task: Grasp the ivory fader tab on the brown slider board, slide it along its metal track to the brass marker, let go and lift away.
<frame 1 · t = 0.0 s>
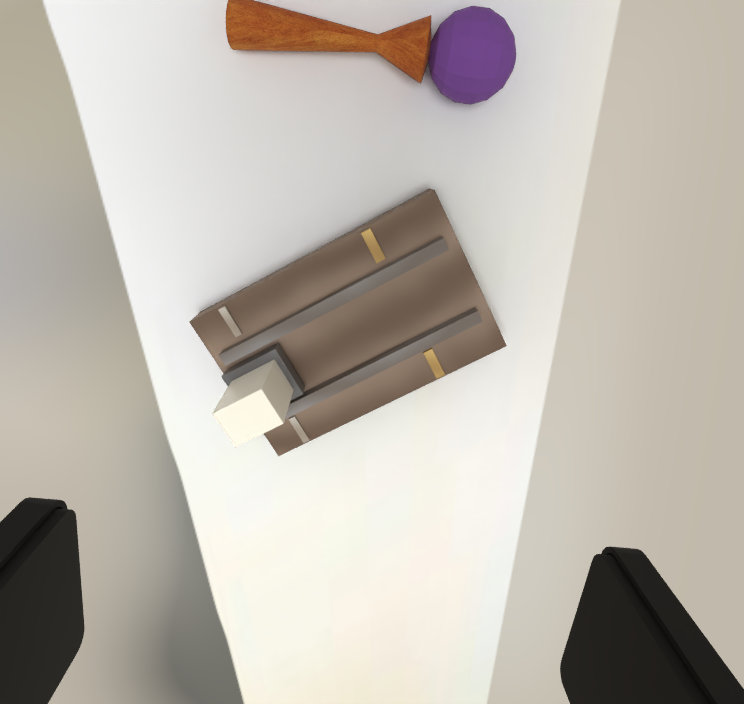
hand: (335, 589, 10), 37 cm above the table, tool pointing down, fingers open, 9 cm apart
kendama: (371, 50, 40), on the table
fader tab: (257, 396, 41), point 7 cm above the table, slide at 0.0 cm
brown slider board: (350, 323, 47), on the table
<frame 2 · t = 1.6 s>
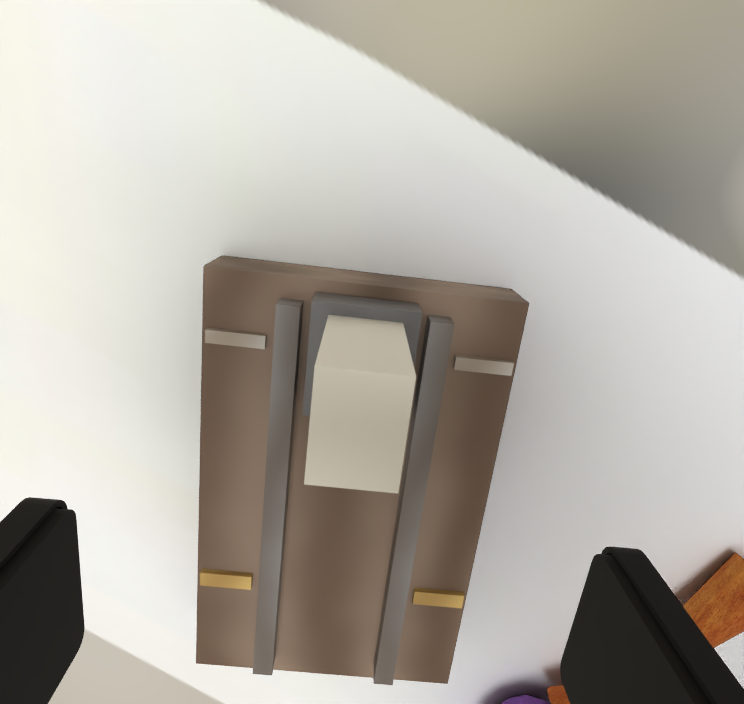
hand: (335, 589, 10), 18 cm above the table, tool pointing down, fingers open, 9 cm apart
kendama: (603, 647, 34), on the table
fader tab: (359, 385, 20), point 7 cm above the table, slide at 0.0 cm
brown slider board: (345, 472, 29), on the table
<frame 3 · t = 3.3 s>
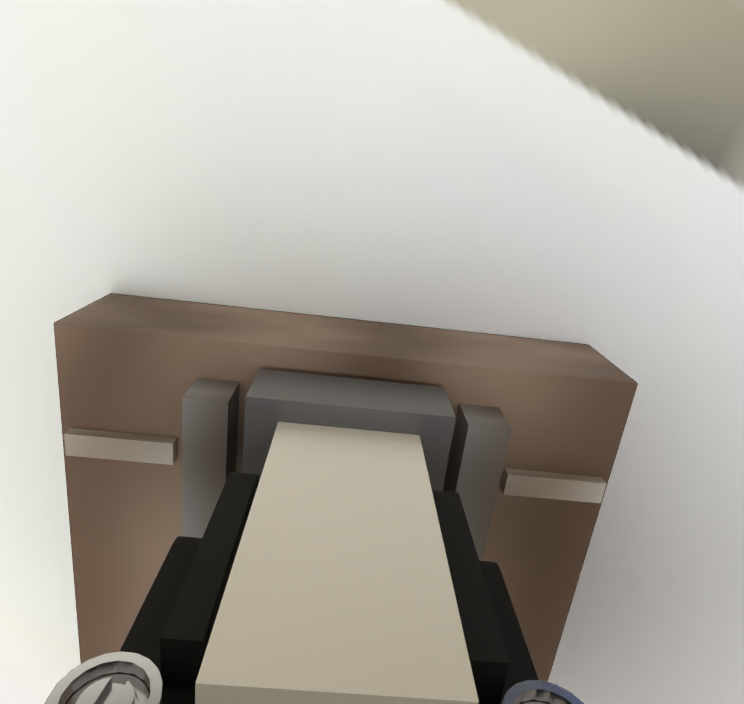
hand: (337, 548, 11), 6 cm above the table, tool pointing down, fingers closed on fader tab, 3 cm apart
fader tab: (336, 580, 10), point 7 cm above the table, slide at 0.0 cm, touching gripper
brown slider board: (323, 613, 19), on the table
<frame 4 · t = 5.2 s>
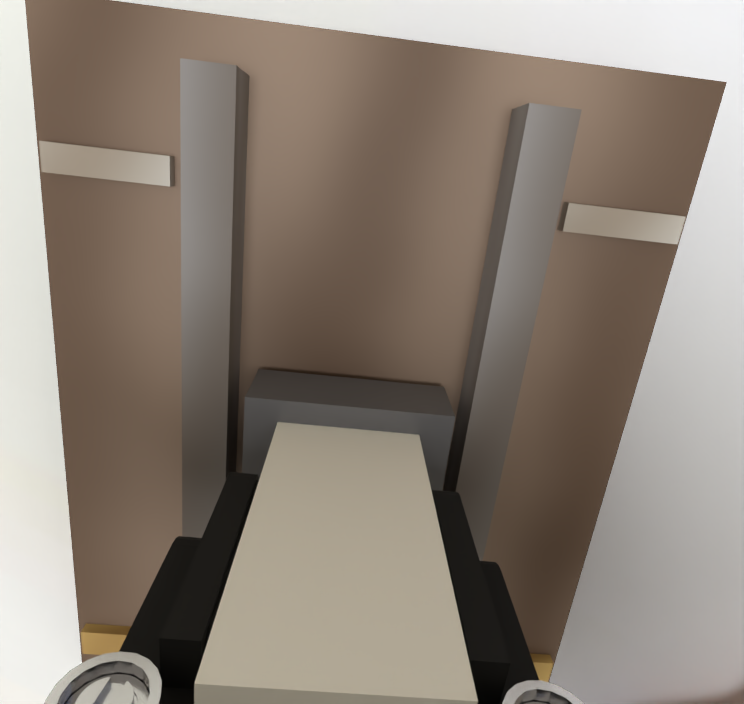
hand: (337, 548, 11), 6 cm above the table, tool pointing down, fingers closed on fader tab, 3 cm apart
fader tab: (336, 580, 10), point 7 cm above the table, slide at 6.7 cm, touching gripper
brown slider board: (341, 449, 17), on the table
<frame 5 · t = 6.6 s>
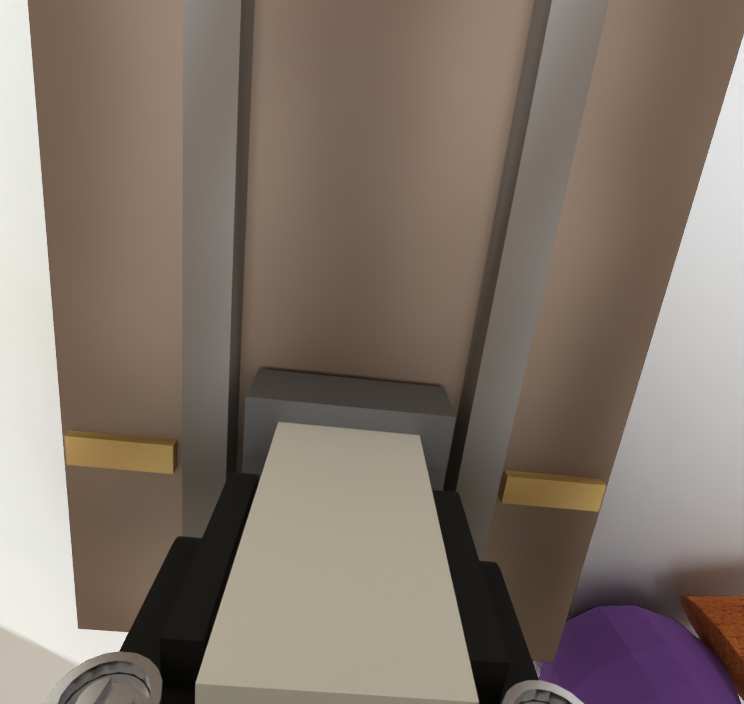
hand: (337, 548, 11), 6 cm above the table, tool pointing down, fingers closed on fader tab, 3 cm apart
fader tab: (336, 580, 10), point 7 cm above the table, slide at 12.8 cm, touching gripper
brown slider board: (363, 256, 15), on the table
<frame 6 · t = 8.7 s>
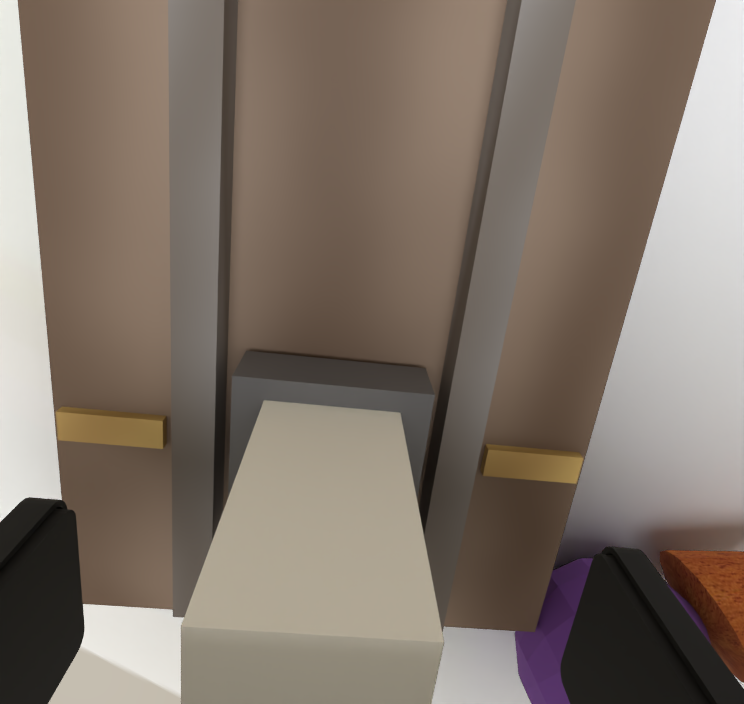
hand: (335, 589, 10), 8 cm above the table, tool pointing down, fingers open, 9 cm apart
fader tab: (319, 549, 10), point 7 cm above the table, slide at 13.0 cm
brown slider board: (348, 238, 15), on the table
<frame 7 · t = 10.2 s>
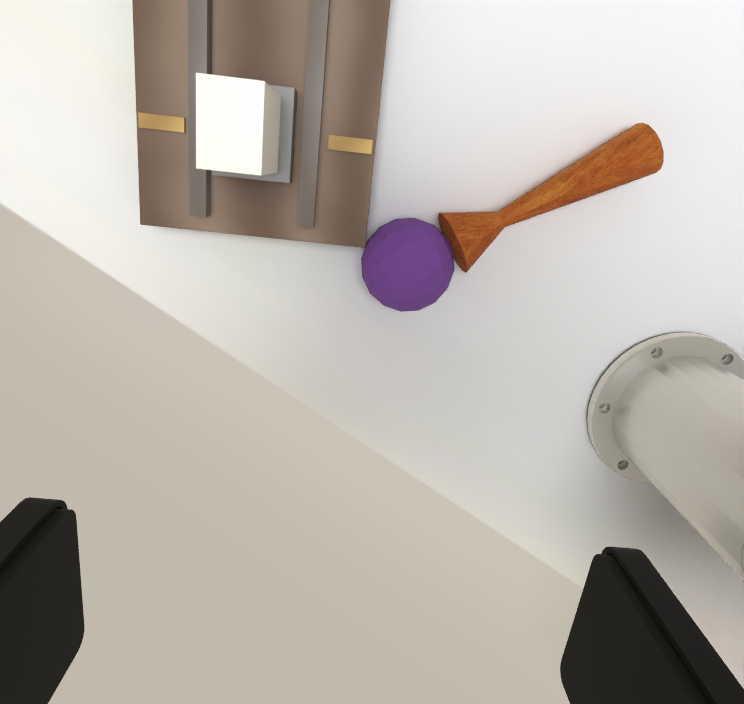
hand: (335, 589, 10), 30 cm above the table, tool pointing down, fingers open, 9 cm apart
kendama: (495, 213, 37), on the table
fader tab: (245, 130, 28), point 7 cm above the table, slide at 13.0 cm
brown slider board: (268, 49, 33), on the table
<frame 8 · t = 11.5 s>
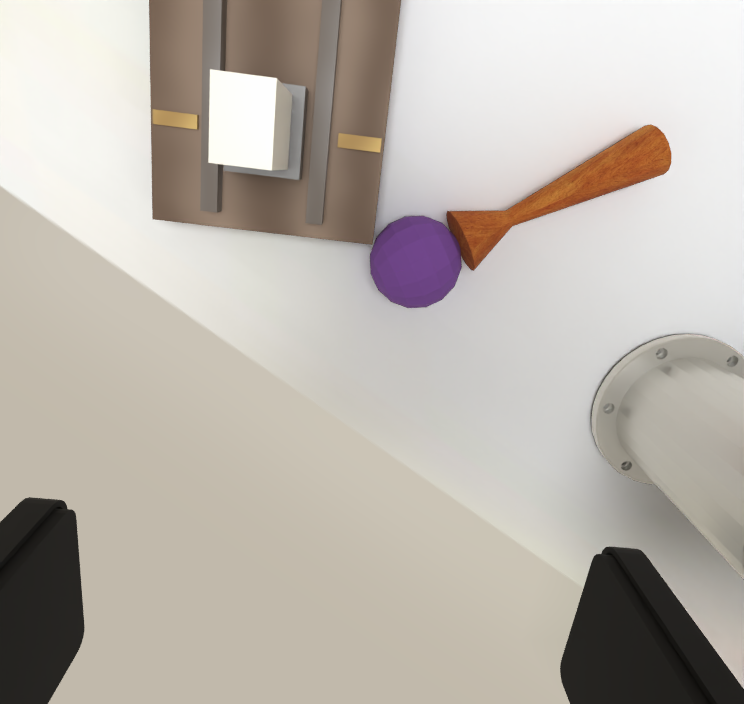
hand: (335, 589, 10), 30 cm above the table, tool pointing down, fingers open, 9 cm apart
kendama: (503, 212, 38), on the table
fader tab: (256, 126, 28), point 7 cm above the table, slide at 13.0 cm
brown slider board: (280, 48, 34), on the table
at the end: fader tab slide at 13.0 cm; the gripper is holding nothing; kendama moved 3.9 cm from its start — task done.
